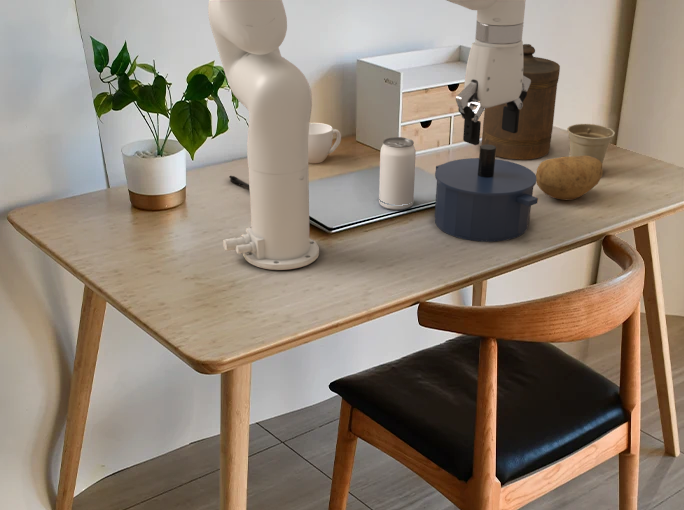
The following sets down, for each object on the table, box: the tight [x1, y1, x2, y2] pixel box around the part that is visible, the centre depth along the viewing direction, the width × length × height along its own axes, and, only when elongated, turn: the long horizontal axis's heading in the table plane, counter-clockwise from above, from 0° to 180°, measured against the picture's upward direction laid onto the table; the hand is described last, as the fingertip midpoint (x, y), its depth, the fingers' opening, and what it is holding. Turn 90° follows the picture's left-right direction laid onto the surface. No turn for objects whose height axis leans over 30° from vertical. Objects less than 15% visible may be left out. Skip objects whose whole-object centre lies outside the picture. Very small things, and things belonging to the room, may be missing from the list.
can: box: [378, 136, 417, 211], centre depth 170 cm, size 6×6×12 cm
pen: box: [229, 175, 250, 191], centre depth 178 cm, size 14×2×1 cm, turn 37°
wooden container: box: [481, 43, 561, 161], centre depth 195 cm, size 15×15×22 cm
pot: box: [434, 164, 539, 243], centre depth 164 cm, size 17×22×8 cm
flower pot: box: [566, 123, 616, 165], centre depth 187 cm, size 9×9×9 cm
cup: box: [308, 122, 342, 164], centre depth 192 cm, size 8×10×7 cm
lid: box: [434, 144, 537, 196], centre depth 160 cm, size 18×18×6 cm
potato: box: [535, 155, 604, 201], centre depth 175 cm, size 10×14×8 cm
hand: (490, 137), depth 158 cm, fingers open, 9 cm apart
